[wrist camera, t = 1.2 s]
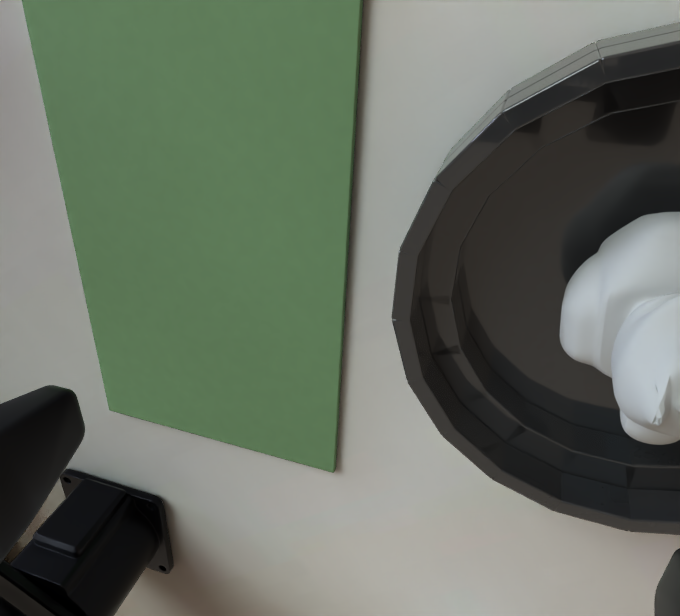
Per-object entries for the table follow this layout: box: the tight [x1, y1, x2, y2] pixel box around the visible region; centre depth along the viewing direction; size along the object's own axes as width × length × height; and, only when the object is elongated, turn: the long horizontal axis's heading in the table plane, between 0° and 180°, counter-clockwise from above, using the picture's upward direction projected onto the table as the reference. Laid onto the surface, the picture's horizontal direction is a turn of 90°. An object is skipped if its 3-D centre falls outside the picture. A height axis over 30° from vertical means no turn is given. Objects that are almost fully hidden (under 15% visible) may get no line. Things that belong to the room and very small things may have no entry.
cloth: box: [22, 0, 363, 473], centre depth 24 cm, size 20×12×1 cm, turn 178°
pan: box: [392, 22, 680, 535], centre depth 18 cm, size 15×15×3 cm
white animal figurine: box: [560, 212, 680, 445], centre depth 15 cm, size 5×7×8 cm
